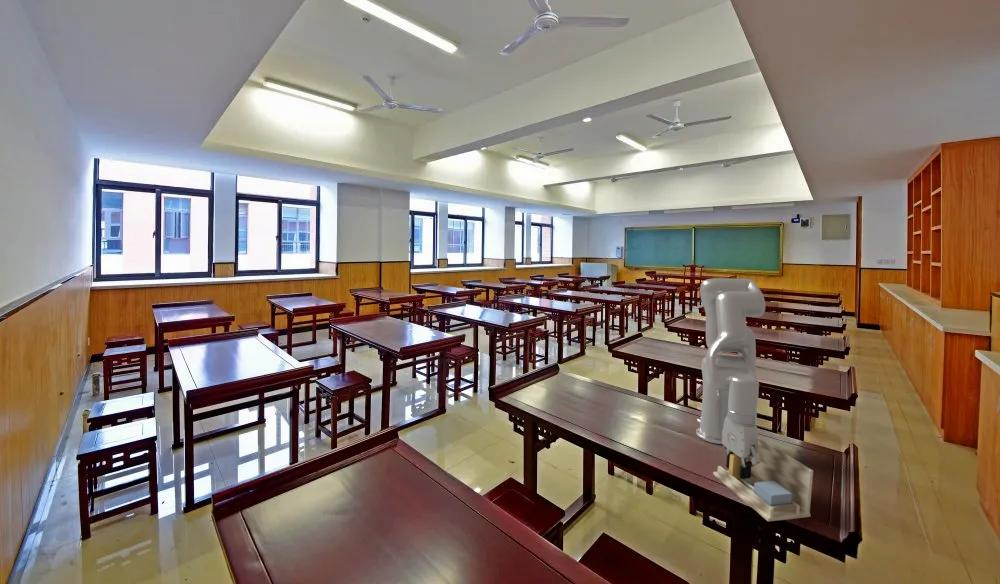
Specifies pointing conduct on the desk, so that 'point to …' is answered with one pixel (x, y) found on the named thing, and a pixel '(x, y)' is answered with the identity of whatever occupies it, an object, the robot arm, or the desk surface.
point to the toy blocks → (761, 485)
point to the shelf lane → (782, 472)
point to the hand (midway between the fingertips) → (738, 472)
